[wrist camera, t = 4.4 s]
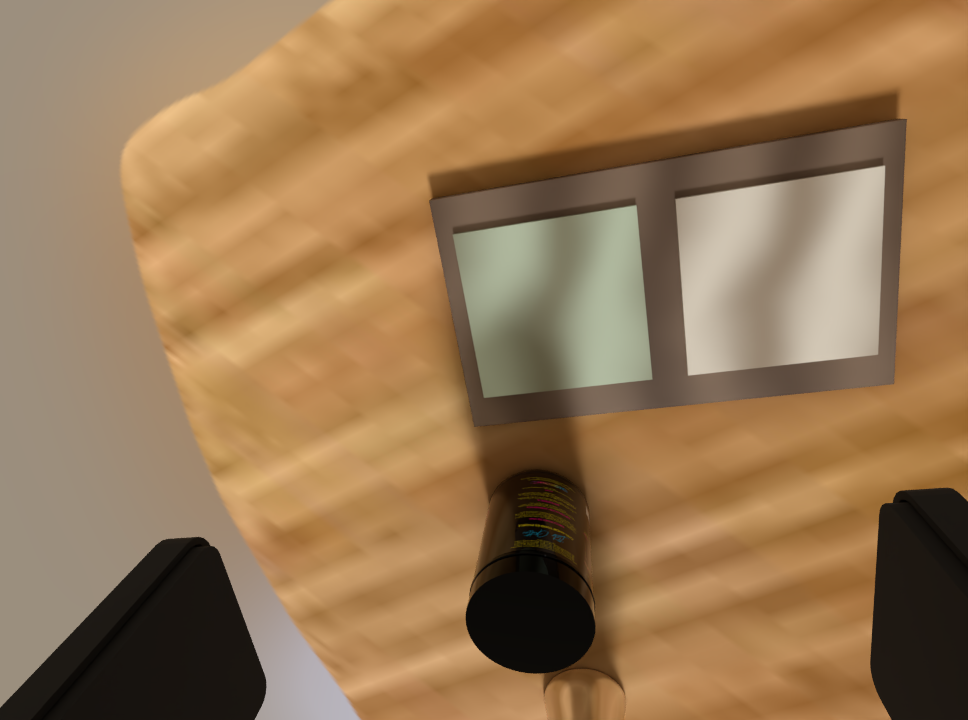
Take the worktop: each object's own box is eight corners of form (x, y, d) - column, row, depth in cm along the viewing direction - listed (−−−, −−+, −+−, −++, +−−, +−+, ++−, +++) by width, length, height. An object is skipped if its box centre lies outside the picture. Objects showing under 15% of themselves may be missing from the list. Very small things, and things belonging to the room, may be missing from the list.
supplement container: (480, 469, 42) (453, 575, 32) (583, 459, 40) (587, 567, 31) (498, 553, 44) (477, 675, 34) (595, 546, 43) (603, 672, 33)
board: (896, 119, 31) (909, 119, 30) (885, 377, 36) (896, 386, 35) (432, 198, 36) (428, 201, 34) (476, 419, 40) (473, 428, 39)
